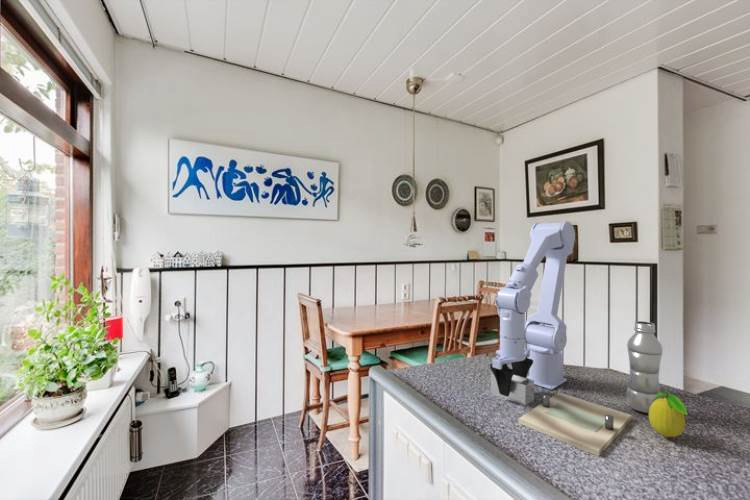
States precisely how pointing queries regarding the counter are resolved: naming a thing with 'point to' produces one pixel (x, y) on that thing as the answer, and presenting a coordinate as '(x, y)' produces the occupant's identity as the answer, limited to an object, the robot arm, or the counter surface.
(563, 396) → the pin tray
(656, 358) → the plastic bottle
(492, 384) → the block
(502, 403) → the counter surface
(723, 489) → the counter surface
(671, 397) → the lemon
